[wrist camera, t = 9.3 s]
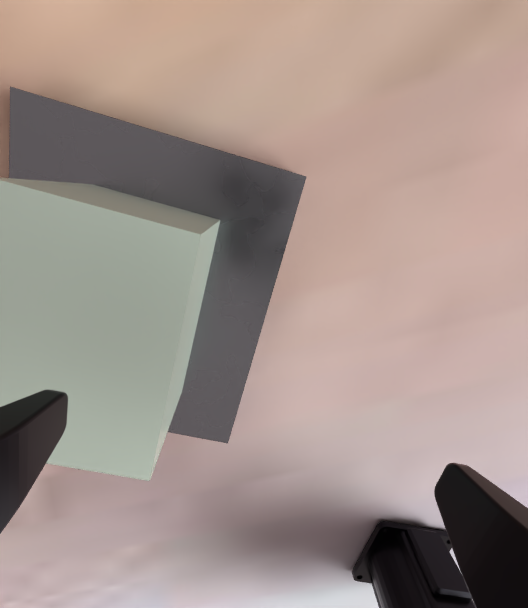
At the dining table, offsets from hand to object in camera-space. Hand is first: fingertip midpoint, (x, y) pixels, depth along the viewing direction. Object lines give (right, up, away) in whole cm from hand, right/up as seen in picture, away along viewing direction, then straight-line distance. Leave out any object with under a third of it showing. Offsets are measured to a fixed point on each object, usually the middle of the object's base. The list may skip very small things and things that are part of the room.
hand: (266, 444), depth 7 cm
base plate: (-7, +4, +10) cm, 13 cm away
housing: (-6, +3, +9) cm, 12 cm away
